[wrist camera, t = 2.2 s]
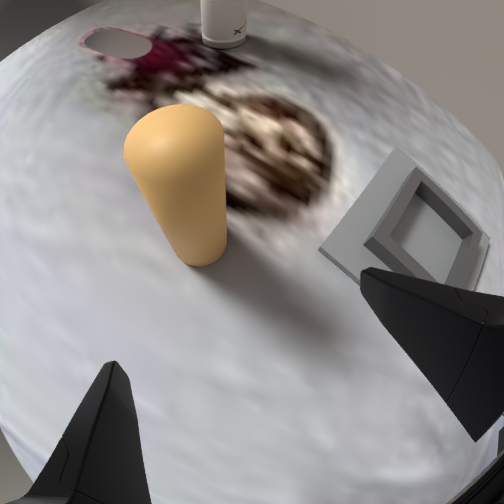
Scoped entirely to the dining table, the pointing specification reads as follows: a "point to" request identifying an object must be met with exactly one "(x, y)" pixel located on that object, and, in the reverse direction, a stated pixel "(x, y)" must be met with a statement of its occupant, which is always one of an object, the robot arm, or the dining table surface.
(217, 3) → the travel mug
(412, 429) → the dining table surface
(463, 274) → the socket
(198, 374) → the dining table surface
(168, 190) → the rounded tan peg
